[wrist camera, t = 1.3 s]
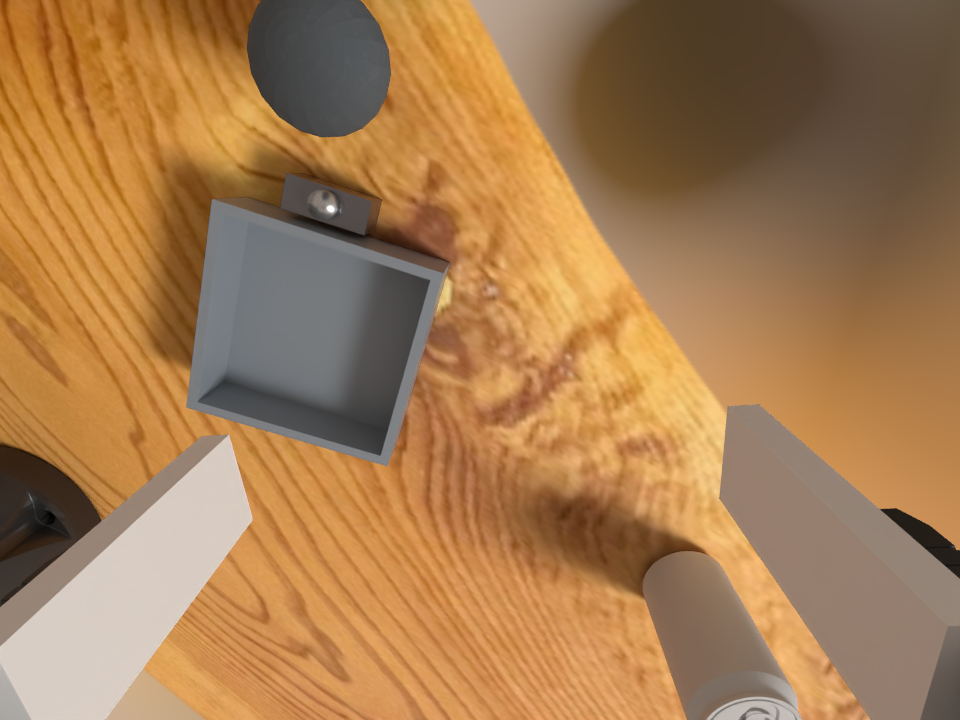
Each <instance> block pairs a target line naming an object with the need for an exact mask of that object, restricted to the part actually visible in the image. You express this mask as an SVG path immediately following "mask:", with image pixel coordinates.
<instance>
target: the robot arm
mask: <svg viewBox="0 0 960 720" xmlns="http://www.w3.org/2000/svg"><path fill="white" fill-rule="evenodd" d="M719 499H720V500H721V502H722V503H723V504H724V506H725V507H726V509H727V510H728V512H729V513H730V515H731V516H732V518H733V519H734V520H735V522H736V523H737V525H738V526H739V528H740V529H741V531H742V532H743V534H744V535H745V537H746V538H747V539H748V541H749V542H750V544H751V545H752V547H753V548H754V550H755V551H756V553H757V554H758V556H759V557H760V558H761V560H762V561H763V563H764V564H765V566H766V567H767V569H768V570H769V572H770V573H771V575H772V576H773V577H774V579H775V580H776V582H777V583H778V585H779V586H780V588H781V589H782V591H783V592H784V594H785V595H786V596H787V598H788V599H789V601H790V602H791V604H792V605H793V607H794V608H795V610H796V611H797V612H798V614H799V615H800V617H801V618H802V620H803V621H804V623H805V624H806V626H807V627H808V629H809V630H810V631H811V633H812V634H813V636H814V637H815V639H816V640H817V642H818V643H819V645H820V646H821V648H822V649H823V650H824V652H825V653H826V655H827V656H828V658H829V659H830V661H831V662H832V664H833V665H834V667H835V668H836V669H837V671H838V672H839V674H840V675H841V677H842V678H843V680H844V681H845V683H846V684H847V685H848V687H849V688H850V690H851V691H852V693H853V694H854V696H855V697H856V699H857V700H858V702H859V703H860V704H861V706H862V707H863V709H864V710H865V712H866V713H867V715H868V716H869V718H870V719H871V720H960V550H956V549H955V546H954V545H953V544H952V543H951V542H949V541H948V540H947V539H946V538H944V537H943V536H942V535H941V534H939V533H938V532H937V531H936V530H934V529H933V528H932V527H931V526H929V525H928V524H926V523H923V522H922V521H920V520H918V519H916V518H914V517H912V516H910V515H908V514H906V513H904V512H902V511H900V510H898V509H896V508H895V509H879V508H877V507H876V506H875V505H874V504H873V503H872V502H871V501H869V500H868V499H867V498H866V497H865V496H864V495H862V494H861V493H860V492H859V491H858V490H857V489H856V488H854V487H853V486H852V485H851V484H850V483H849V482H848V481H846V480H845V479H844V478H843V477H842V476H841V475H840V474H838V473H837V472H836V471H835V470H834V469H833V468H832V467H830V466H829V465H828V464H827V463H826V462H825V461H823V460H822V459H821V458H820V457H819V456H818V455H816V454H815V453H814V452H813V451H812V450H811V449H810V448H809V447H807V446H806V445H805V444H804V443H803V442H801V441H800V440H799V439H798V438H797V437H796V436H795V435H794V434H792V433H791V432H790V431H789V430H788V429H787V428H786V427H784V426H783V425H782V424H781V423H780V422H779V421H777V420H776V419H775V418H774V417H773V416H772V415H771V414H769V413H768V412H767V411H766V410H765V409H764V408H762V407H761V406H760V405H759V404H757V405H740V406H728V408H727V419H726V430H725V442H724V453H723V464H722V475H721V487H720V498H719ZM252 520H253V518H252V514H251V511H250V507H249V504H248V500H247V497H246V493H245V490H244V486H243V482H242V479H241V475H240V472H239V468H238V465H237V461H236V458H235V454H234V451H233V447H232V443H231V440H230V436H229V435H214V436H202V437H200V438H199V439H198V440H197V441H196V442H195V443H193V444H192V445H191V446H190V447H189V448H187V449H186V450H185V451H184V452H183V453H182V454H180V455H179V456H178V457H177V458H176V459H174V460H173V461H172V462H171V463H170V464H169V465H167V466H166V467H165V468H164V469H163V470H161V471H160V472H159V473H158V474H157V475H156V476H154V477H153V478H152V479H151V480H150V481H149V482H147V483H146V484H145V485H144V486H143V487H141V488H140V489H139V490H138V491H137V492H136V493H134V494H133V495H132V496H131V497H130V498H128V499H127V500H126V501H125V502H124V503H123V504H121V505H120V506H119V507H118V508H117V509H115V510H114V511H113V512H112V513H111V514H110V515H108V516H107V517H106V518H105V519H104V520H102V521H101V519H100V517H99V515H98V513H97V511H96V509H95V508H94V506H93V505H92V503H91V502H90V500H89V499H88V498H87V497H86V495H85V494H84V493H83V492H82V491H81V490H80V489H79V488H78V487H77V486H76V485H75V484H74V483H73V482H72V481H71V480H70V479H69V478H67V477H66V476H65V475H64V474H62V473H61V472H60V471H58V470H57V469H55V468H54V467H52V466H51V465H49V464H47V463H45V462H44V461H42V460H40V459H38V458H36V457H34V456H31V455H29V454H27V453H24V452H21V451H18V450H15V449H12V448H8V447H3V446H0V720H105V719H106V718H107V717H108V715H109V714H110V712H111V711H112V710H113V708H114V707H115V706H116V704H117V703H118V702H119V700H120V699H121V698H122V696H123V695H124V693H125V692H126V691H127V689H128V688H129V687H130V685H131V684H132V682H133V681H134V680H135V679H136V677H137V676H138V674H139V673H140V672H141V670H142V669H143V668H144V666H145V665H146V664H147V662H148V661H149V660H150V658H151V657H152V656H153V654H154V653H155V651H156V650H157V649H158V647H159V646H160V645H161V643H162V642H163V641H164V639H165V638H166V637H167V635H168V634H169V633H170V631H171V630H172V628H173V627H174V626H175V624H176V623H177V622H178V620H179V619H180V618H181V616H182V615H183V614H184V612H185V611H186V609H187V608H188V607H189V605H190V604H191V603H192V601H193V600H194V599H195V597H196V596H197V595H198V593H199V592H200V591H201V589H202V588H203V586H204V585H205V584H206V582H207V581H208V580H209V578H210V577H211V576H212V574H213V573H214V572H215V570H216V569H217V567H218V566H219V565H220V563H221V562H222V561H223V559H224V558H225V557H226V555H227V554H228V553H229V551H230V550H231V549H232V547H233V546H234V544H235V543H236V542H237V540H238V539H239V538H240V536H241V535H242V534H243V532H244V531H245V530H246V528H247V527H248V525H249V524H250V523H251V521H252Z"/></svg>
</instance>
